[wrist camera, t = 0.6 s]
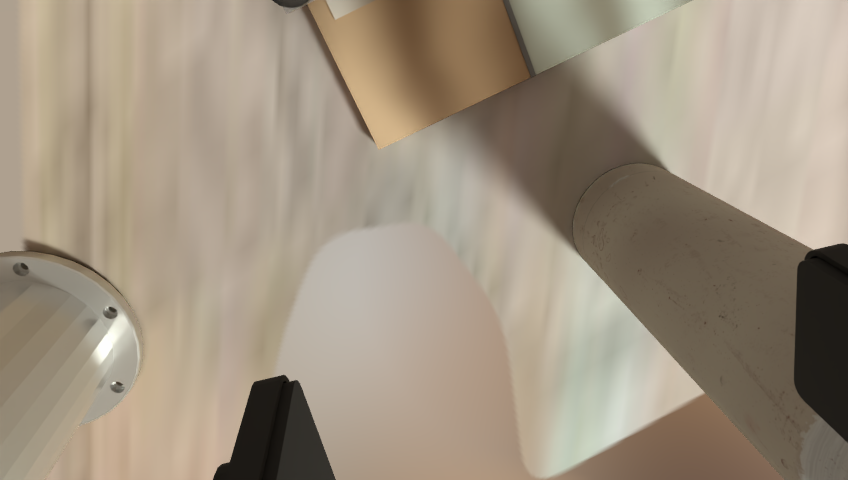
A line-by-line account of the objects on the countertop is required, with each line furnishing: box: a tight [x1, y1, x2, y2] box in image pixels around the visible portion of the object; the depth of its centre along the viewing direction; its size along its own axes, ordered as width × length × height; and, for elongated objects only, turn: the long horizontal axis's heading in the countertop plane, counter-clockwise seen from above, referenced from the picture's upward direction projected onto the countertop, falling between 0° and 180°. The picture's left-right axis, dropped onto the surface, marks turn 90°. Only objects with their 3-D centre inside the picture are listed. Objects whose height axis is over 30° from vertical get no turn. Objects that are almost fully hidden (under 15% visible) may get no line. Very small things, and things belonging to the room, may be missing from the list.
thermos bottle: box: [573, 163, 848, 480], centre depth 28 cm, size 8×8×28 cm
